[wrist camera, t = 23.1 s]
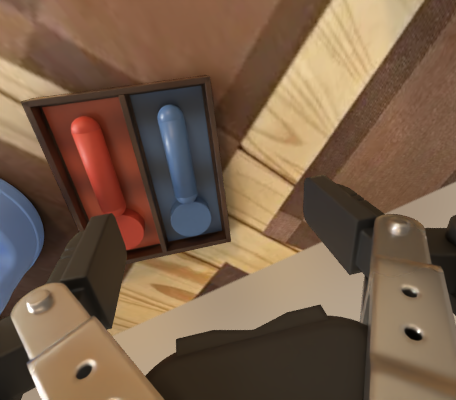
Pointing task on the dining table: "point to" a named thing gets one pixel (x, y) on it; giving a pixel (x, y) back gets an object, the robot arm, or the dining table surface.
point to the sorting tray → (137, 156)
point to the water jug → (17, 239)
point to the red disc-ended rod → (105, 179)
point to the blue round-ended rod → (182, 175)
